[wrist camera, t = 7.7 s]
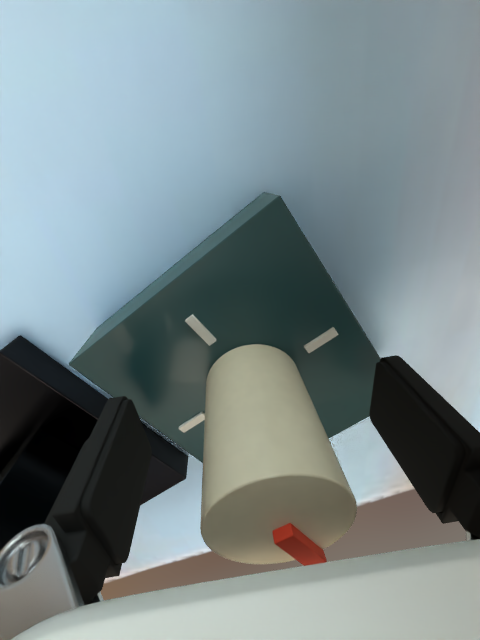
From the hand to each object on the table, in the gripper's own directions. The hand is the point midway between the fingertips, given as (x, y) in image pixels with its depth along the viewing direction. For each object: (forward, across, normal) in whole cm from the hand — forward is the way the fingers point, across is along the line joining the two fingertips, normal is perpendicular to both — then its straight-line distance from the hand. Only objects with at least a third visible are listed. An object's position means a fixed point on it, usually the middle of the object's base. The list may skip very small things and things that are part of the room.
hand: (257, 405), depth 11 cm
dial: (+1, 0, 0) cm, 1 cm away
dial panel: (+4, 0, 0) cm, 4 cm away
